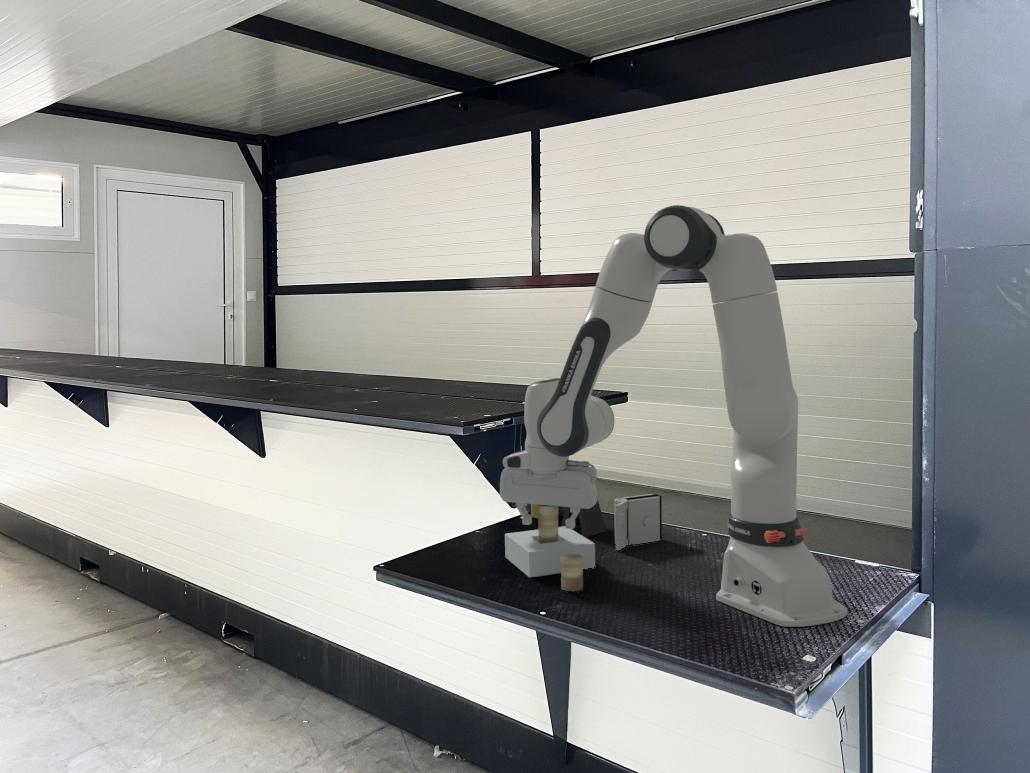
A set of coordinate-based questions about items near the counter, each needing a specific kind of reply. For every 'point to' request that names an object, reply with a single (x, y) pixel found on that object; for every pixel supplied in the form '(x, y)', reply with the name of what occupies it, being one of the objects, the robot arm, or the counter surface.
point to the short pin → (571, 572)
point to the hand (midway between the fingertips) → (548, 526)
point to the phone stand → (587, 521)
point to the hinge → (637, 519)
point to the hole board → (546, 551)
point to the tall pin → (548, 523)
